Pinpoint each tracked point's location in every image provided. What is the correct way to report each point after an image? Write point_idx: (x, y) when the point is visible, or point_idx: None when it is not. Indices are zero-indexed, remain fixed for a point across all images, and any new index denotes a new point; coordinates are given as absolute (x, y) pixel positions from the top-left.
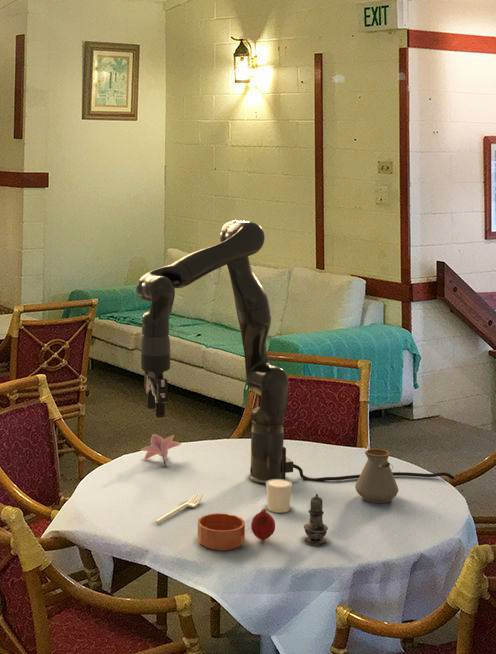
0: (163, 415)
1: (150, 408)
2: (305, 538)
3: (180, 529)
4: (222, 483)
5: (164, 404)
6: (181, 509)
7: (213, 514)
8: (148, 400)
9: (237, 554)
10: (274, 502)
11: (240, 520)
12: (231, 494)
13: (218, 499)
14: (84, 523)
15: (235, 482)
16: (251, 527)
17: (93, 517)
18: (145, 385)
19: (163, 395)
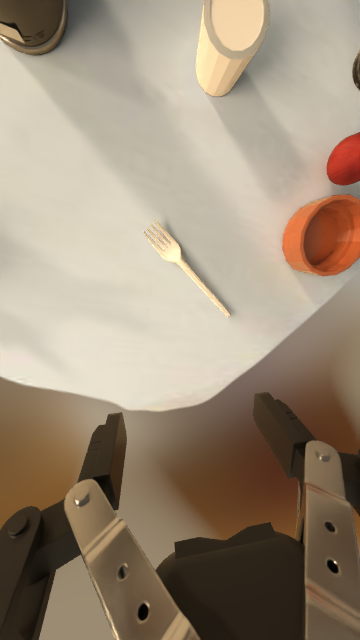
0: (269, 397)
1: (125, 429)
2: (357, 83)
3: (253, 285)
4: (55, 145)
5: (302, 434)
6: (192, 270)
7: (303, 241)
8: (121, 474)
9: None
10: (240, 74)
11: (337, 200)
12: (124, 148)
13: (147, 187)
14: (202, 397)
15: (49, 108)
16: (342, 184)
17: (186, 387)
18: (48, 599)
19: (343, 494)
